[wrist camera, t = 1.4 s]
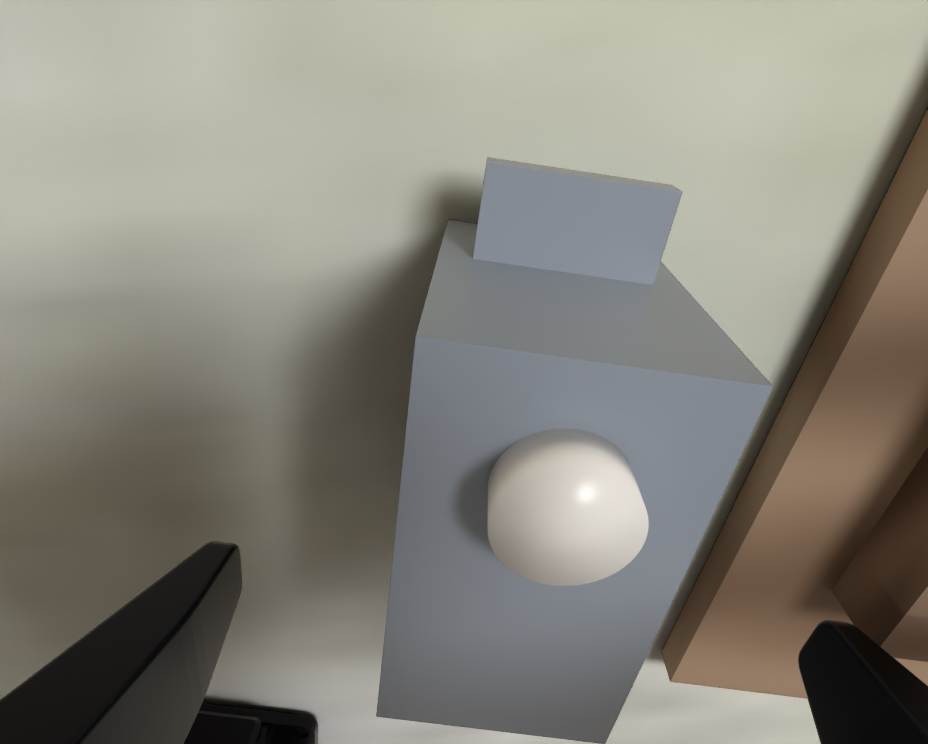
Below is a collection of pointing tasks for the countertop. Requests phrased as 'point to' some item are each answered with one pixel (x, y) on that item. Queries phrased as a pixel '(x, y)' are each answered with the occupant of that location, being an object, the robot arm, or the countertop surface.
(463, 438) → the block
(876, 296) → the brown wooden board
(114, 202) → the countertop surface
